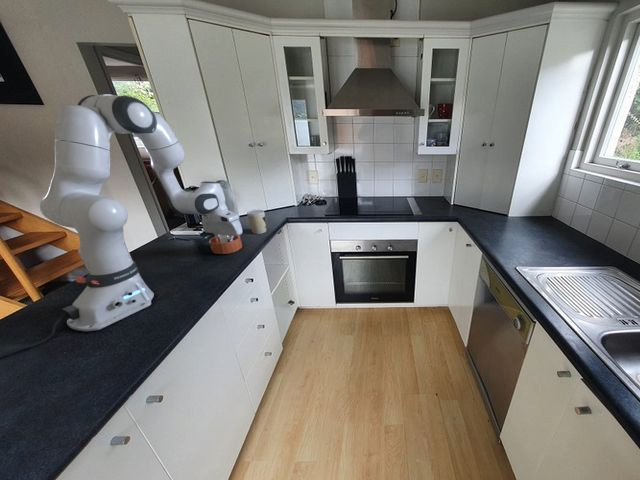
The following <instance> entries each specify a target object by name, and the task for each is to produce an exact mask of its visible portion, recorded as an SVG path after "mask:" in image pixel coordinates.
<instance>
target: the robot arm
mask: <svg viewBox="0 0 640 480" xmlns="http://www.w3.org/2000/svg"><path fill="white" fill-rule="evenodd" d="M113 133H116V134H123V135H124V134H125V135H128V134H129V135H130V134H133V135H135V136H136V137H137V138H138V140H139V142H141V144H142V146H143V148H144V149H145V151H146V152H147V154H148V156H149V158H150V166H151V168H152V171H153V173H154V175H155V177H156V179H157V181H158V182H159V184H160V186H161V188H162V190H163V192H164V194H165V196H166V200H167V204H168V207H169V208H170V209H171V210H172V211H173V212H174V213H177V214H179V215H199V216H200V215H201V223H202V228H203V231H204V233H209V234H213V235H214V237H215V236H216V238H217V239H218V241H220V239H219V238H220V237H221V236H220V234H224V235H228V237H229V239H228V242H231V241H233V237H234V236H239V235H240V236H241V235H243V228H242V224H241V221H240V215H239V216H238V215H237V214H235V213H233V212H231V211H229V210H228V208H227V206H226V204H225V196H224V192H223V190H222V187H221V185H220V184H219V183H217V182H216V181H210V180H209V181H207V180H204V181H201V182H200V183H199V187H198V188H197V189H196V190H195V191H187V190H185V189H183V188H182V187H181V186H180V184H179V181H178V180H177V177H176V175H175V173H174V169H176V168H178V167H179V166H181V165H182V164H183V163H184V161H185V158H186V153H185V150H184V148H183V146H182V144H181V142H180V140H179V139H178V137H177V135H176V134H175V132H174V131H173V129H172V128H171V126H170V125H169V123H167V121H166V120H165V118H164V117H163V116H162V115H161V114H160V113H158V112H155V111H153V110H152V109H151V108H150V106H148V105H147V104H146V103H145V102H143V101H142V100H140V99H139V98H136V97H134V96H129V95H117V94H115V95H114V94H107V93H105V94H90V95H87V96H84V97H82V98H81V99H80V100H79V101H78V103H77V104H67V105H63V106H61V107H60V109H58V113H57V116H56V121H55V126H54V170H53V176H52V179H51V181H50V184H49V185H50V186H49V188H48V192H47V194H46V195H45V197H43V198H42V199H41V201H40V203H39V211H40V212H41V215H42V216H43V217H45V218H46V219H47V220H49V221H51V222H52V223H54V224H57V225H59V226H61V227H65V228H72V229H74V230H75V231H76V233H77V234H78V239H79V247H78V249H77V253H78V255H79V257H80V259H81V261H82V262H83V265H85V268H86V270H87V272H88V273H87V275H86V276H77V277H76V278H75V282H76V283H77V284H78V283H79V284H86V287H85V288H84V290H83V291H82V292H81V293H80V294H79V295H78V297H77V298H76V299H75V300H74V302H72V304H70V305H68V306H65V307H63V308H61V310H62V312H63V313H64V314H62V315H61V316H60V317H59V318H57V319H56V320H55V321H54V322H53V323H52V325H51V326H50V332H49V334H48V335H47V336H46V337H45V338H43V339H41V340H38V341H36V342H33V343H30V344H27V345H23V346H20V347H18V348H15V349H12V350H10V351H7V352H4V353H1V354H0V359H2V358H6V357H8V356H10V355H13V354H17V353H18V352H21V351H25V350H27V349H31V348H34V347H37V346H39V345H41V344H42V343H45V342H47V341H49V340H51V339H52V338H53V337H54V336H55V334H56V330H57V329H56V328H57V326H58V325H59V324H60V323H61V322H62V321H63V320H65V319H66V318H68V319H67V320H66V324H67V326H68V327H69V328H70V329H72V330H75V331H78V332H79V331H80V332H94V331H95V332H96V331H100V330H102V329H104V328H107V327H108V326H110V325H112V324H114V323H117V322H119V321H120V320H123V319H125V318H127V317H129V316H130V315H133V314H135V313H138V312H140V311H141V310H143V309H146V308H148V307H150V306H151V305H152V300H153V298H154V295H155V293H154V292H153V291H152V290H151V289H150V288H149V286H148V285H147V283H146V282H145V280H144V279H143V277H142V276H141V272H140V269H139V267H138V265H137V263H136V262H135V260H133V258H132V256H131V254H130V251H129V249H128V246H127V244H126V240H125V235H124V226H125V225H126V224H127V222H128V219H129V214H128V210H127V208H126V207H125V205H123V204H122V203H121V202H119V201H117V200H115V199H112V198H111V197H108V196H105V195H101V191H102V189H103V186H104V185H105V183H106V182H107V181H108V180H109V179H110V178H111V141H110V140H111V137H112V134H113ZM238 218H239V220H238Z"/></svg>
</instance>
